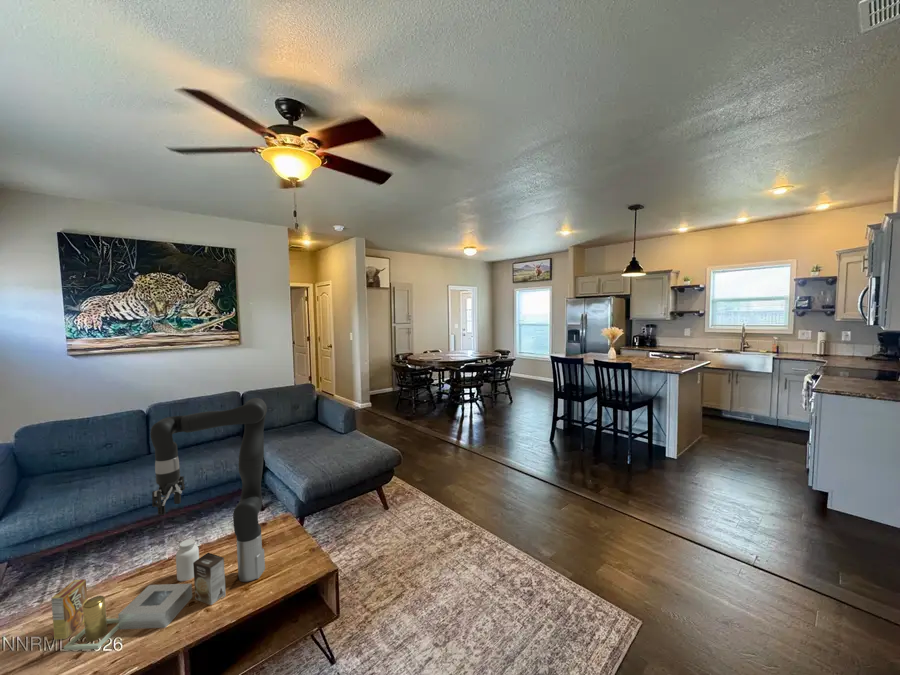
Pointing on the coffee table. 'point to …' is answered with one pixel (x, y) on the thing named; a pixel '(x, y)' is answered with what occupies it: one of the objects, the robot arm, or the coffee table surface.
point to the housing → (155, 606)
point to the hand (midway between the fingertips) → (170, 508)
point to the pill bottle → (186, 559)
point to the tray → (91, 646)
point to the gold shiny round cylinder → (95, 618)
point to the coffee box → (209, 578)
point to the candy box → (68, 609)
